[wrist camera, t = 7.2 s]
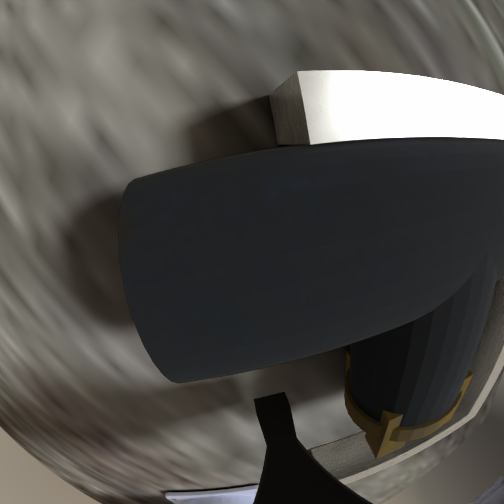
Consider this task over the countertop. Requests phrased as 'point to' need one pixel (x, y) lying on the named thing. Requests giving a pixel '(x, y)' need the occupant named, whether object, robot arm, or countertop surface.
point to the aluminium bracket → (388, 126)
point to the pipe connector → (324, 268)
